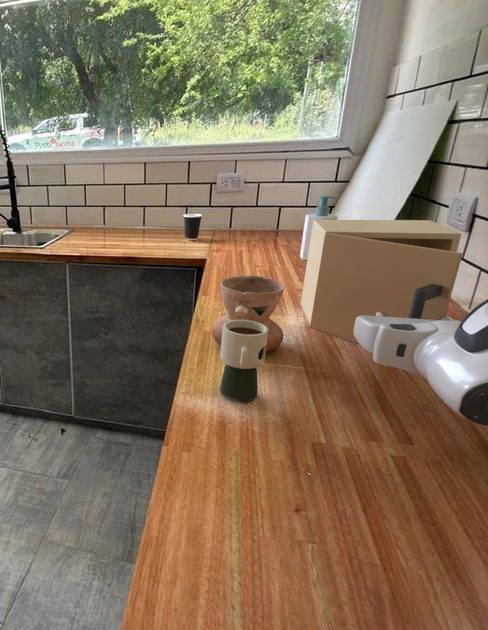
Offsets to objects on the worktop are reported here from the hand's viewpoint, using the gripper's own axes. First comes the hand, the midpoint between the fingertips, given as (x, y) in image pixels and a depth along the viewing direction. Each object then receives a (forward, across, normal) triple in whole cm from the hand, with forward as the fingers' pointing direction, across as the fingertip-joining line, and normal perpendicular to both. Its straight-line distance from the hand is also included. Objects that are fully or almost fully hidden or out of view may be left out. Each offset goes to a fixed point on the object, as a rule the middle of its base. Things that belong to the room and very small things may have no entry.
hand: (411, 318), depth 80 cm
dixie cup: (+116, +46, +11) cm, 125 cm away
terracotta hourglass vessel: (+7, +26, +11) cm, 29 cm away
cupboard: (+29, 0, +11) cm, 31 cm away
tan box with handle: (+9, +5, +11) cm, 15 cm away
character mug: (-15, +28, +11) cm, 34 cm away
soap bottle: (+88, 0, +11) cm, 88 cm away
